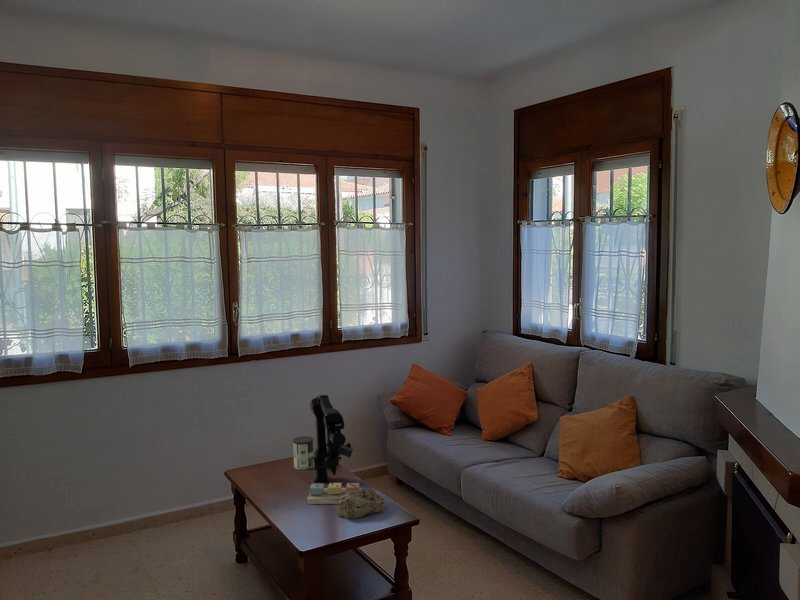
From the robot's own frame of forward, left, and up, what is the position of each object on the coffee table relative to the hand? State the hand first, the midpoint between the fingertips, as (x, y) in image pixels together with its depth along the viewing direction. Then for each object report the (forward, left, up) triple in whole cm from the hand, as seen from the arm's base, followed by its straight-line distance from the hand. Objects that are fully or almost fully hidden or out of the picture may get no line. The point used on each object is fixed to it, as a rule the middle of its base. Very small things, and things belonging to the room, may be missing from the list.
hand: (334, 474), depth 289 cm
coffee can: (-43, -21, -11) cm, 49 cm away
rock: (+15, +13, -11) cm, 23 cm away
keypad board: (0, 0, -11) cm, 11 cm away
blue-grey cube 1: (0, -8, -11) cm, 14 cm away
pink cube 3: (0, +8, -11) cm, 13 cm away
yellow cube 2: (0, 0, -11) cm, 11 cm away
